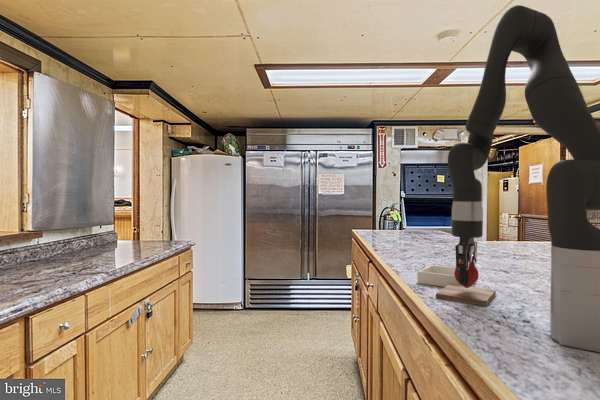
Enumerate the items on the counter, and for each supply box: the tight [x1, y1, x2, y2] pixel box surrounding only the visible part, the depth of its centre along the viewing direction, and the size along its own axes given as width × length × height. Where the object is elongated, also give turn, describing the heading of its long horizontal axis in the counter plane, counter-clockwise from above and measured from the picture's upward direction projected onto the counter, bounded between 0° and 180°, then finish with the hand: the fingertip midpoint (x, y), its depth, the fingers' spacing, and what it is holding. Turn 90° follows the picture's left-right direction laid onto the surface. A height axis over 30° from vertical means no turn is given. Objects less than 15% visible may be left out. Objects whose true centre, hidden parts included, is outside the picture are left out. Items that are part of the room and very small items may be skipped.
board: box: [435, 284, 497, 307], centre depth 99 cm, size 13×12×1 cm
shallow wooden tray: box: [416, 264, 463, 288], centre depth 116 cm, size 13×13×4 cm
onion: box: [454, 261, 479, 288], centre depth 99 cm, size 6×6×8 cm
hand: (466, 281), depth 99 cm, fingers closed on onion, 6 cm apart
